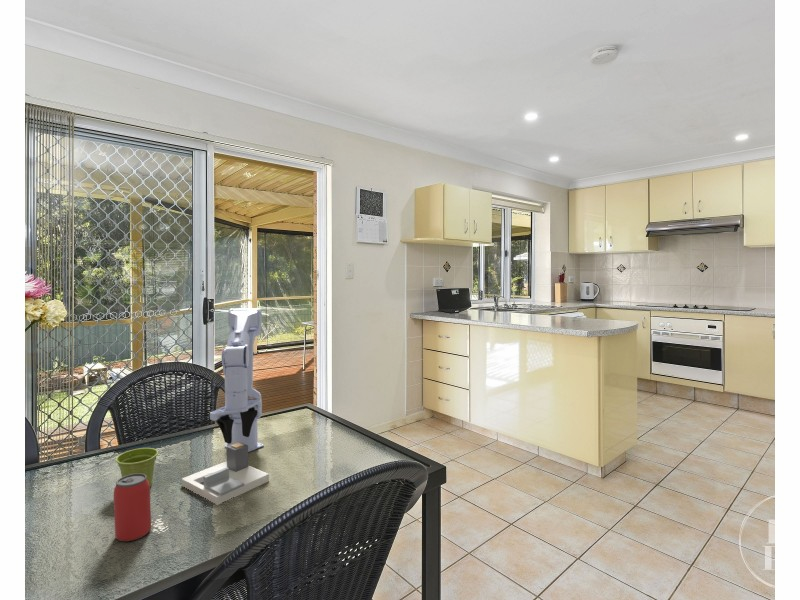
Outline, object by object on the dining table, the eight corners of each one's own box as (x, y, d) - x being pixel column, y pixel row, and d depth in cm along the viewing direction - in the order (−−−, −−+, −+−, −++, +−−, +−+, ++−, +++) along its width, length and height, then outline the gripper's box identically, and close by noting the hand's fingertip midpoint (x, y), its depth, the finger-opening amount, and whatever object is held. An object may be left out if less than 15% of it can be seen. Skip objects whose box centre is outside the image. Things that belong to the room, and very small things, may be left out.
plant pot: (167, 482, 118) (166, 450, 117) (136, 500, 109) (134, 465, 108) (140, 477, 121) (139, 445, 120) (107, 493, 112) (106, 459, 111)
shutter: (203, 487, 111) (203, 476, 111) (226, 477, 116) (226, 467, 116) (221, 496, 107) (220, 485, 107) (244, 485, 112) (244, 475, 112)
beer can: (125, 525, 98) (123, 472, 97) (156, 524, 99) (155, 471, 98) (108, 544, 91) (106, 487, 91) (142, 542, 92) (140, 486, 91)
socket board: (181, 486, 116) (181, 478, 116) (232, 465, 128) (232, 458, 128) (217, 505, 106) (217, 497, 106) (268, 481, 119) (268, 473, 119)
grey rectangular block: (226, 468, 122) (226, 445, 121) (239, 462, 125) (239, 441, 125) (235, 472, 119) (235, 449, 119) (248, 466, 123) (248, 444, 122)
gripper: (220, 399, 113) (221, 451, 113) (267, 386, 124) (268, 434, 125) (204, 394, 117) (206, 445, 118) (252, 382, 128) (252, 429, 129)
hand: (237, 439), depth 122 cm, fingers open, 5 cm apart
